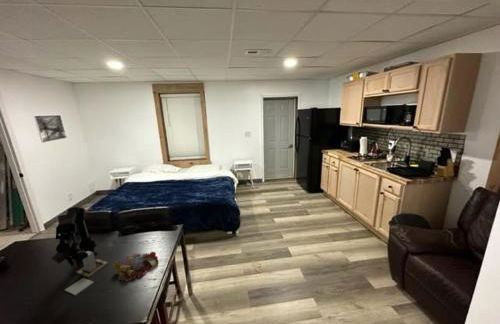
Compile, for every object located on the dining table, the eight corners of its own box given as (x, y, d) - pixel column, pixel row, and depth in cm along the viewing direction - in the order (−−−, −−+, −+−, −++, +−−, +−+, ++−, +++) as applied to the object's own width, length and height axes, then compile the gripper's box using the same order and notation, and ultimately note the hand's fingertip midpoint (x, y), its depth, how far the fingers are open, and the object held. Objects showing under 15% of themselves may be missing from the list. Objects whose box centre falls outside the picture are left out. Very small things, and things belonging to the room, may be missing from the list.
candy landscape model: (131, 286, 122) (128, 273, 120) (107, 275, 132) (104, 262, 130) (164, 260, 144) (162, 249, 142) (141, 252, 154) (140, 241, 152)
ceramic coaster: (64, 290, 120) (64, 289, 120) (83, 278, 130) (83, 277, 129) (75, 295, 117) (75, 294, 117) (93, 282, 126) (93, 281, 126)
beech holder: (76, 272, 135) (76, 271, 134) (97, 260, 146) (96, 258, 146) (88, 277, 130) (87, 275, 130) (108, 264, 142) (108, 262, 142)
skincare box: (84, 270, 136) (80, 254, 134) (91, 266, 140) (87, 250, 138) (90, 272, 134) (86, 256, 132) (97, 268, 138) (93, 252, 136)
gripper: (42, 248, 114) (49, 272, 117) (62, 255, 107) (68, 281, 110) (66, 237, 124) (71, 260, 127) (85, 243, 117) (91, 267, 120)
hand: (75, 267), depth 121 cm, fingers open, 5 cm apart
